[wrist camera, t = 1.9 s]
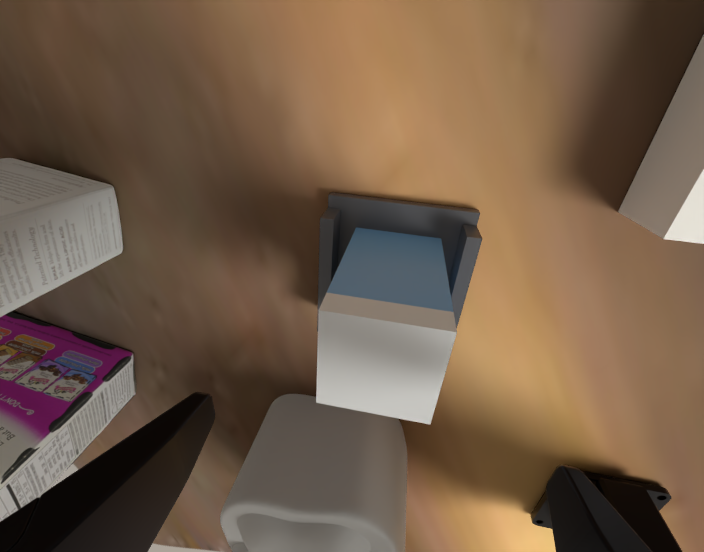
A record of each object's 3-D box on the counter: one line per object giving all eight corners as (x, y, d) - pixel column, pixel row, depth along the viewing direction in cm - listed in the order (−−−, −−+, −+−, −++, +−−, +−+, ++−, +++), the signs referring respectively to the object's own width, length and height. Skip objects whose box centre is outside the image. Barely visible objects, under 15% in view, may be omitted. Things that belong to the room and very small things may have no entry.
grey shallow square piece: (446, 328, 18) (449, 353, 17) (326, 309, 19) (317, 331, 17) (478, 209, 15) (486, 224, 13) (330, 192, 16) (320, 204, 14)
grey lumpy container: (404, 399, 22) (397, 561, 14) (409, 509, 28) (407, 665, 20) (257, 390, 24) (183, 528, 16) (292, 495, 30) (249, 631, 22)
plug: (425, 309, 17) (430, 424, 11) (350, 297, 18) (316, 402, 12) (441, 238, 15) (457, 332, 9) (356, 227, 16) (318, 309, 10)
